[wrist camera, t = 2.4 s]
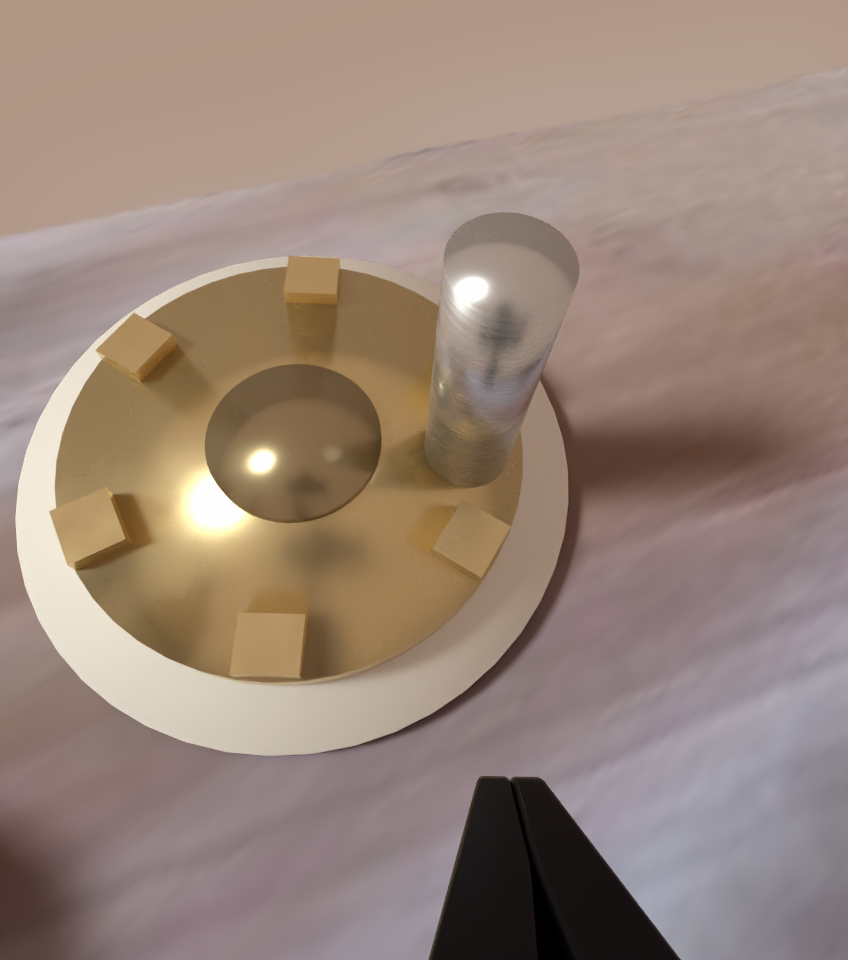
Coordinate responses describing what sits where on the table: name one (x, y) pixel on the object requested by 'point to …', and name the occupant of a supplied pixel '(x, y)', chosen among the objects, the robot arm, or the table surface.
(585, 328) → the table surface
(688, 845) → the table surface
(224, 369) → the brass lugged disc
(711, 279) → the table surface
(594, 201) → the table surface
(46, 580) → the base plate
